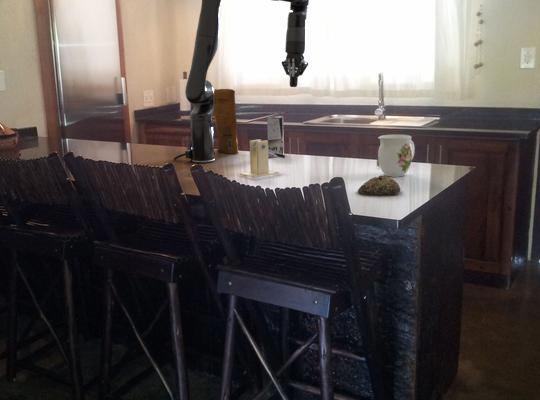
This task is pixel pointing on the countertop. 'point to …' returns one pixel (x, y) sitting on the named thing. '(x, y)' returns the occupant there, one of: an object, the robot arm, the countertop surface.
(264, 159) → the bracket
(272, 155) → the lever
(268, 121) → the coffee box
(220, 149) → the pancake mix bag
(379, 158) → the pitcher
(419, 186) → the countertop surface
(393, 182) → the mossy brown rock
